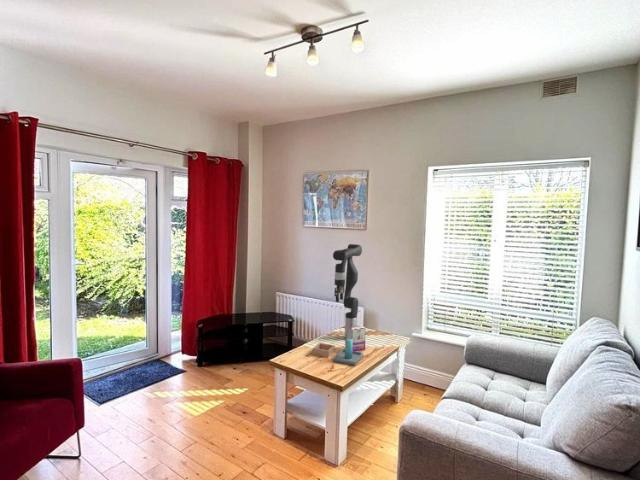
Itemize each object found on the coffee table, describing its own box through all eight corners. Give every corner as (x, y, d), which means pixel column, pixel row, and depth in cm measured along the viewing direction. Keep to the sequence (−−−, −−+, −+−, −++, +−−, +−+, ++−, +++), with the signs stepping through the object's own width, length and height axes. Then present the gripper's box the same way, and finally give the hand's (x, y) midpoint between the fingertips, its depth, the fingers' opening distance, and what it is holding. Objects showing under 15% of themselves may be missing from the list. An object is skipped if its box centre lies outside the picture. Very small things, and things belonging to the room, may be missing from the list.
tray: (342, 352, 243) (342, 349, 243) (362, 356, 237) (363, 352, 237) (333, 361, 226) (333, 358, 226) (354, 365, 220) (355, 362, 220)
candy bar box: (362, 347, 253) (362, 325, 252) (365, 349, 249) (366, 327, 248) (348, 349, 249) (349, 327, 248) (351, 351, 244) (352, 329, 244)
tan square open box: (319, 348, 249) (319, 342, 249) (334, 351, 244) (335, 345, 244) (312, 354, 238) (312, 348, 238) (328, 357, 233) (328, 351, 233)
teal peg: (346, 355, 235) (346, 338, 234) (353, 356, 233) (353, 339, 232) (343, 358, 230) (344, 340, 229) (350, 359, 228) (351, 341, 227)
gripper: (338, 276, 253) (337, 298, 253) (331, 279, 240) (330, 302, 240) (348, 277, 250) (347, 299, 250) (341, 280, 237) (340, 303, 237)
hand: (339, 300), depth 245 cm, fingers open, 8 cm apart
